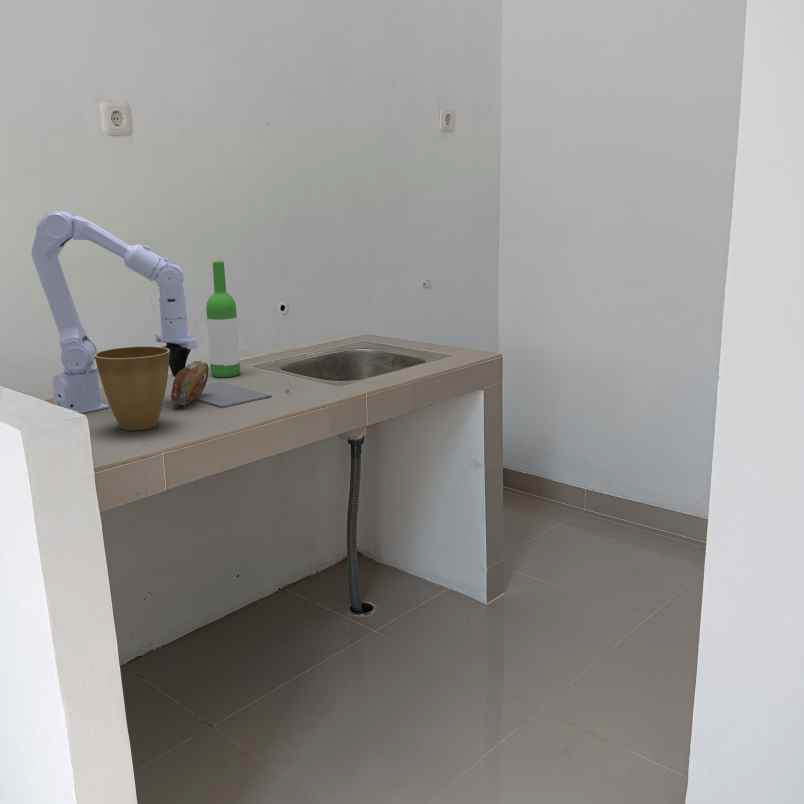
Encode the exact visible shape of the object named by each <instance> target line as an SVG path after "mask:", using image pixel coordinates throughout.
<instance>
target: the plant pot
mask: <svg viewBox="0 0 804 804" xmlns="http://www.w3.org/2000/svg"><path fill="white" fill-rule="evenodd" d="M163 347H164V346H150V345H149V346H147V345H145V346H143V345H142V346H125V347H117V348H109V349H105V350H101V351H97V353H96V354H95V355H94V356H95V359H94V361H95V365H96V366H97V368H98V376H99V378H100V379H99V380H100V382H101V385H102V388H103V391H104V394H105V397H106V399H107V402H108V405H109V408H110V409H111V412H112V413H113V416H114V418H115V420H116V422H117V424H118V426H119V428H120V429H121V430H123V431H129V432H130V431H131V432H135V431H136V432H137V431H144V430H145V431H146V430H150V429H153V428H156V427H157V426H158V424H159V423H158V422H159V419H160V416H161V412H162V409H163V404H164V401H165V397H166V390H167V385H168V377H169V369H170V366H169V357H170V350H169V349H167V348H163Z"/></svg>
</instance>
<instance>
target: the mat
mask: <svg viewBox="0 0 804 804" xmlns="http://www.w3.org/2000/svg"><path fill="white" fill-rule="evenodd" d="M170 393H171V394H172V390H171V391H170ZM267 397H269V398H272V397H273V395H272V394H269V393H264V392H261V391H257V390H254V389H249V388H245V387H242V386H237V385H234V384H230V383H226V382H222V381H216V382H211V383H206V385H205V388H204V390H203V392H202V393H201V394H200V396H198V397H197V398H195V399H194V400H193V401H197V402H200V401H201V403H204V404H207V403H208V405H210V406H214V405H215V407H217V406H218V407H217V408H221V409H223V408H229V407H232V406H238V405H241V403H242V404H246V402H247V403H251V402H255V401H254V400H256V401H259V399H260V400H264V399H263V398H265V399H268V398H267ZM250 401H251V402H250ZM237 404H238V405H237ZM228 406H229V407H228Z"/></svg>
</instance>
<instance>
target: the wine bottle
mask: <svg viewBox="0 0 804 804" xmlns="http://www.w3.org/2000/svg"><path fill="white" fill-rule="evenodd" d="M225 270H226V269H225V262H224V261H223V260H216V261H212V274H213V278H212V279H213V294H211V295H210V296H209V298H208V299H207V301H206V305H205V306H206V310H205V311H206V325H207V337H208V340H207V341H208V351H209V352H208V353H209V354H208V355H209V366H210V367H209V368H210V375H211V376H213V377H215V378H220V377H226V378H233V377H236V376H239V374H240V372H241V366H240V364H241V363H240V362H241V361H240V349H239V347H240V346H239V332H238V331H239V329H238V313H237V305H236V302H235V300H234V298H233V297H232V295H231V294H229V293H228V292H227V286H226V283H227V282H226V272H225ZM232 376H233V377H232Z"/></svg>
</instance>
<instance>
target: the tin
mask: <svg viewBox="0 0 804 804" xmlns="http://www.w3.org/2000/svg"><path fill="white" fill-rule="evenodd" d="M209 368H210V367H209V365H208V363H206V362H202V361H198V360H195V361H193V362H191V363H190V364H188V365H186V366H185V367H184V368H183V369H181V370H180V371H179V372H178V373H177V375H176V377H174V379H173V382H172V388H171V391H172V393H171V395H170V400H171V401H172V403H174V404H177V405H181V406H182V407H185V406H187V405H189V403H191V402H193V401H195V400H194V399H195V398H197V397H198V396H200V394H201V393H202V392H203V390H204V388H205V385H206V384H207V381H208V378H209V371H210V370H209Z"/></svg>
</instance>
